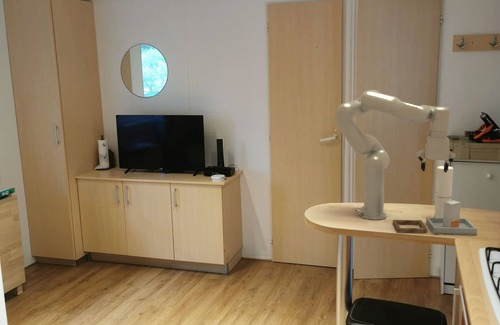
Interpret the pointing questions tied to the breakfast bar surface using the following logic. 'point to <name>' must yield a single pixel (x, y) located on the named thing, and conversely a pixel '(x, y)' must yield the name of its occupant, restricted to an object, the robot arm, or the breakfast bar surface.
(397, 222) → the frame
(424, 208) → the breakfast bar surface
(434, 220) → the grey tray
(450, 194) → the cylindrical container
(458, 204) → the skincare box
